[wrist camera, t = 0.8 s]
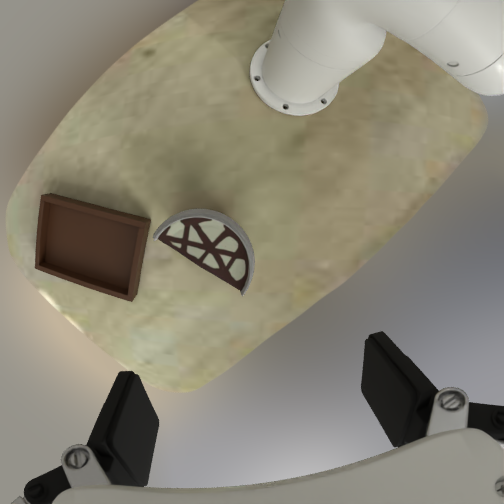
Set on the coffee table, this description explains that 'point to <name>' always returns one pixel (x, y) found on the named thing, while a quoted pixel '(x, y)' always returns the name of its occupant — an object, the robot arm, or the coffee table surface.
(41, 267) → the tray
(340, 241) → the coffee table surface
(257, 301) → the coffee table surface
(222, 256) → the lattice half-cylinder
